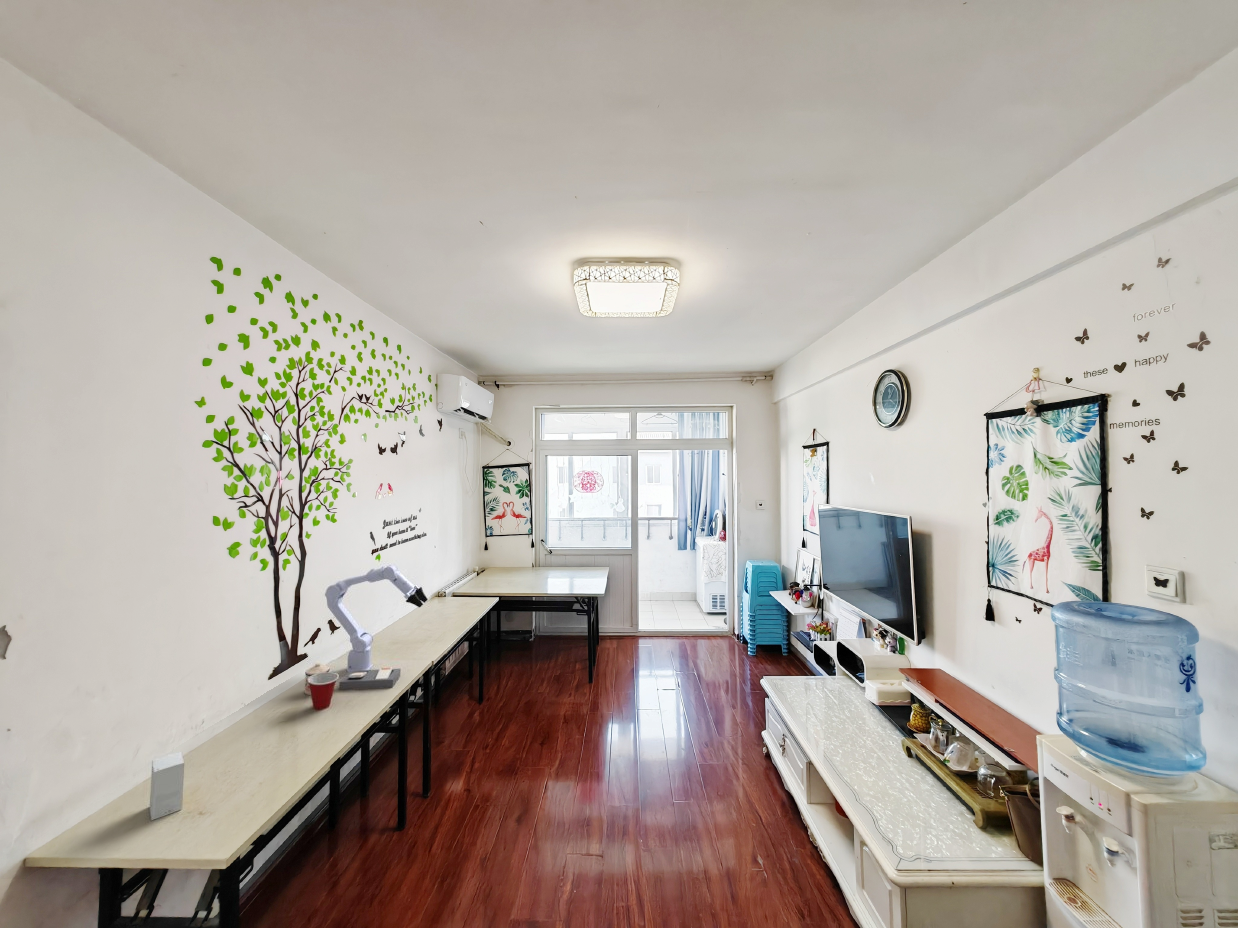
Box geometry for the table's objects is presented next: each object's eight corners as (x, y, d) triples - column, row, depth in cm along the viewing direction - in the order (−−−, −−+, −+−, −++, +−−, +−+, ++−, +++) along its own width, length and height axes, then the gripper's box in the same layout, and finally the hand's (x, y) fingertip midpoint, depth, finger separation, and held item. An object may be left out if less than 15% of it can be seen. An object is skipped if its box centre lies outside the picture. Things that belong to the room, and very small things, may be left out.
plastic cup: (324, 714, 187) (325, 683, 187) (299, 711, 188) (300, 681, 188) (344, 701, 197) (345, 672, 198) (320, 699, 199) (321, 670, 199)
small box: (182, 809, 133) (184, 762, 134) (150, 821, 129) (153, 772, 129) (179, 795, 139) (181, 750, 139) (149, 806, 134) (151, 759, 135)
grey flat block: (338, 689, 208) (339, 681, 208) (349, 678, 219) (349, 670, 220) (392, 687, 211) (392, 679, 211) (400, 675, 223) (400, 668, 223)
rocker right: (375, 680, 212) (375, 678, 212) (381, 669, 220) (380, 667, 220) (387, 680, 213) (387, 677, 213) (392, 668, 221) (392, 666, 221)
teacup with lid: (299, 695, 202) (300, 667, 202) (312, 685, 211) (313, 659, 211) (327, 695, 202) (328, 668, 202) (340, 686, 211) (341, 659, 211)
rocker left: (348, 677, 210) (348, 674, 211) (355, 674, 218) (355, 672, 218) (360, 677, 211) (361, 674, 211) (366, 674, 219) (367, 671, 219)
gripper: (404, 582, 227) (425, 602, 228) (414, 575, 241) (434, 593, 243) (393, 593, 227) (414, 612, 228) (404, 585, 241) (423, 603, 242)
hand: (424, 603), depth 235 cm, fingers open, 7 cm apart
